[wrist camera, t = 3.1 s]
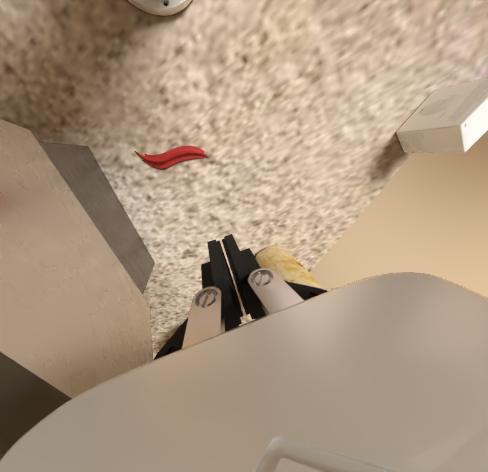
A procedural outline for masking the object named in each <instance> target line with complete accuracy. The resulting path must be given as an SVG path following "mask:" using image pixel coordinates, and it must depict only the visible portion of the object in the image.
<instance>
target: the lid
mask: <svg viewBox="0 0 488 472" xmlns="http://www.w3.org/2000/svg"><path fill="white" fill-rule="evenodd" d="M147 361H149V362H151V361H153V349H152V333H151V317H150V305H149V304H148V302H147V301H146V299H145V298H144V296H143V295H142V293H141V292H140V290H139V289H138V287H137V286H136V285H135V283H134V282H133V280H132V279H131V277H130V276H129V274H128V273H127V271H126V270H125V268H124V267H123V266H122V264H121V263H120V261H119V260H118V258H117V257H116V255H115V254H114V252H113V251H112V249H111V248H110V247H109V245H108V244H107V242H106V241H105V239H104V238H103V236H102V235H101V233H100V232H99V230H98V229H97V227H96V226H95V225H94V223H93V222H92V220H91V219H90V217H89V216H88V214H87V213H86V211H85V210H84V208H83V207H82V206H81V204H80V203H79V201H78V200H77V198H76V197H75V195H74V194H73V192H72V191H71V189H70V188H69V187H68V185H67V184H66V182H65V181H64V179H63V178H62V176H61V175H60V173H59V172H58V170H57V169H56V167H55V166H54V165H53V163H52V162H51V160H50V159H49V157H48V156H47V154H46V153H45V151H44V150H43V148H42V147H41V146H40V144H39V143H38V141H37V140H36V138H35V137H34V135H33V134H32V132H31V131H30V130H29V129H26V128H23V127H20V126H18V125H15V124H12V123H9V122H6V121H4V120H1V119H0V460H1V458H2V457H3V456H4V455H5V453H6V452H7V451H8V450H9V449H10V448H11V447H12V446H13V445H14V444H15V443H16V442H17V441H18V440H19V439H20V438H21V437H22V436H23V435H24V434H25V433H26V432H28V431H29V430H30V429H31V428H32V427H34V426H35V425H36V424H37V423H38V422H40V421H41V420H42V419H44V418H45V417H46V416H48V415H49V414H51V413H52V412H53V411H55V410H56V409H57V408H59V407H60V406H62V405H63V404H65V403H66V402H68V401H69V400H71V399H73V398H74V397H76V396H78V395H79V394H81V393H83V392H85V391H87V390H88V389H90V388H92V387H94V386H96V385H98V384H100V383H102V382H105V381H107V380H109V379H111V378H114V377H116V376H118V375H120V374H123V373H125V372H127V371H129V370H132V369H134V368H137V367H139V366H141V365H142V364H144V363H146V362H147Z"/></svg>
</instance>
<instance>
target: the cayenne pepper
mask: <svg viewBox="0 0 488 472" xmlns="http://www.w3.org/2000/svg"><path fill="white" fill-rule="evenodd" d="M135 152H136V151H135ZM136 153H137V152H136ZM137 154H139V153H137ZM139 155H140V156H141V157H142V158H143V159H144V160H143V161H144V162H145V163H147V164H148V165H150V166H152V167H155V168H159V169H164V168H168V167H170V166H172V165H174V164H175V163H177V162H180V161H184V160H188V159H196V158H204V156H206V155H205V154H204V151H203V150H202V149H200V148H198V147H194V146H181V147H177V148H175V149H172V150H170V151H168V152H165V153H162V154H159V155H147V154H145V156H143V155H141V154H139ZM206 157H207V156H206ZM208 158H209V157H208Z"/></svg>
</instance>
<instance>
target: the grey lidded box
mask: <svg viewBox="0 0 488 472" xmlns="http://www.w3.org/2000/svg"><path fill="white" fill-rule="evenodd" d="M38 143H39V144H40V146H41V147H42V148H43V150H44V151H45V153H46V154H47V156H48V157H49V159H50V160H51V162H52V163H53V165H54V166H55V167H56V169H57V170H58V172H59V173H60V175H61V176H62V178H63V179H64V181H65V182H66V184H67V185H68V187H69V188H70V189H71V191H72V192H73V194H74V195H75V197H76V198H77V200H78V201H79V203H80V204H81V206H82V207H83V208H84V210H85V211H86V213H87V214H88V216H89V217H90V219H91V220H92V222H93V223H94V225H95V226H96V227H97V229H98V230H99V232H100V233H101V235H102V236H103V238H104V239H105V241H106V242H107V244H108V245H109V247H110V248H111V249H112V251H113V252H114V254H115V255H116V257H117V258H118V260H119V261H120V263H121V264H122V266H123V267H124V268H125V270H126V271H127V273H128V274H129V276H130V277H131V279H132V280H133V282H134V283H135V285H136V286H137V287H138V289H139V290H140V292H141V293H142V295H143V293H144V290H145V287H146V285H147V282H148V279H149V277H150V274H151V271H152V269H153V266H154V264H155V263H154V261H153V259H152V257H151V256H150V254H149V252H148V250H147V249H146V247H145V245H144V243H143V242H142V240H141V238H140V236H139V235H138V233H137V231H136V229H135V228H134V226H133V224H132V222H131V221H130V219H129V217H128V215H127V214H126V212H125V210H124V208H123V207H122V205H121V203H120V201H119V200H118V198H117V196H116V194H115V193H114V191H113V189H112V187H111V186H110V184H109V182H108V180H107V179H106V177H105V175H104V173H103V172H102V170H101V168H100V166H99V165H98V163H97V161H96V159H95V158H94V156H93V154H92V152H91V150H90V149H89V147H88V146H78V145H67V144H55V143H44V142H38Z"/></svg>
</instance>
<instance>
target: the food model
mask: <svg viewBox="0 0 488 472" xmlns="http://www.w3.org/2000/svg"><path fill="white" fill-rule="evenodd" d="M256 260H257V262H258V264H259V265H260V267H261V268H269V269H272V270H273V271H275V272H276V273H277V274H278V275H279V276H280V277H281V278H282V279H283V280H284V281H288V282H293V283H298V284H302V285H307V286H312V287H317V288H321V289H324V290H326V289H325V288H324V287H323V286H321V285H320V284H319V283H318V281H316V279H315V278H314V277H313V276H312V275H311V274H310V273H309V272H308V271H307V270H306V269H305V268H304V267H303V266H302V265H301V264H300V263H299V262H298V261H297V260H296V259H295V258H294V257H293V256H292V255H291V254H290V253H288V252H287V251H286V250H285V249H283V248H281V247H278V246H270V247H267V248H265V249H264V250H262V251H261V252H259V253H258V254H257V255H256Z"/></svg>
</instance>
